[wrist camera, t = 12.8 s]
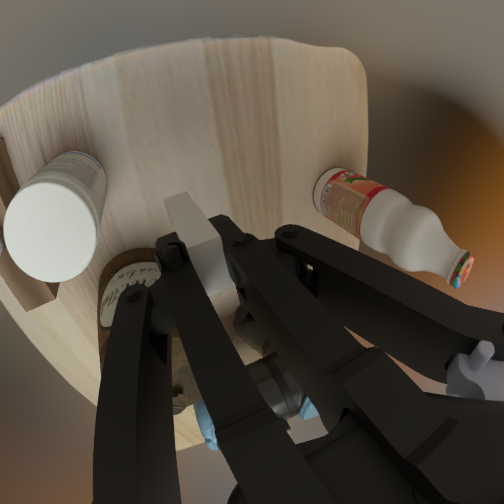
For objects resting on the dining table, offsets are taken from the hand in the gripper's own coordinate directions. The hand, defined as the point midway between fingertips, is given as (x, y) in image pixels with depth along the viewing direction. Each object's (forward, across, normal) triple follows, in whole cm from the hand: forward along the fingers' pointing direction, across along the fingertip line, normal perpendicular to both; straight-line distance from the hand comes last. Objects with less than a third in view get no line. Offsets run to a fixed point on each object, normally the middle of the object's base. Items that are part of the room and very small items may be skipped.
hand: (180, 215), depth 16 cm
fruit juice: (+20, -28, +13) cm, 37 cm away
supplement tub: (+20, +11, -1) cm, 23 cm away
